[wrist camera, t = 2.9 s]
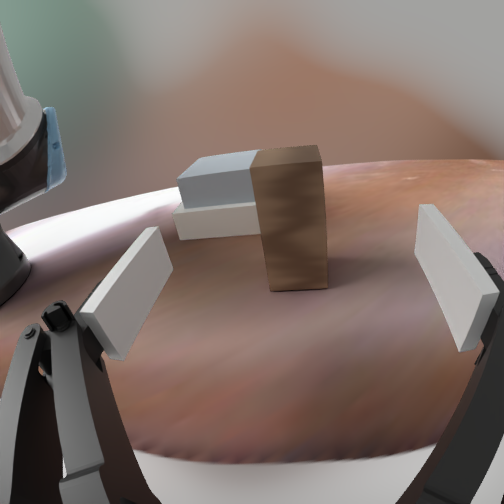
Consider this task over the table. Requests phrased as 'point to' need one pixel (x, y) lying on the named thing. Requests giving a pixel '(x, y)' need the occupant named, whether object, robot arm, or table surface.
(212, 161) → the tower top
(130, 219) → the table surface
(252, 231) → the tower base
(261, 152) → the walnut block
